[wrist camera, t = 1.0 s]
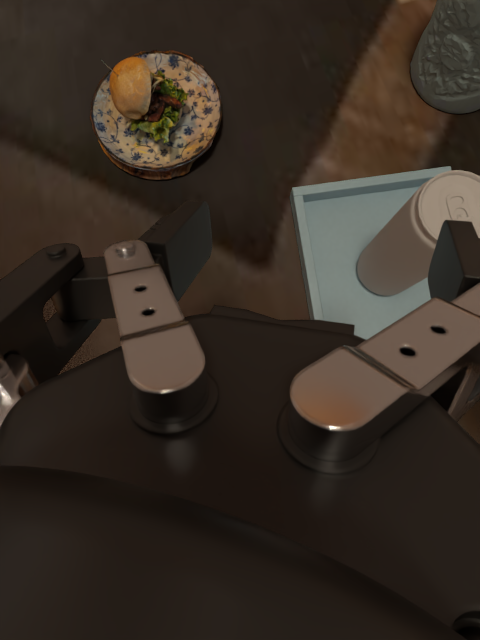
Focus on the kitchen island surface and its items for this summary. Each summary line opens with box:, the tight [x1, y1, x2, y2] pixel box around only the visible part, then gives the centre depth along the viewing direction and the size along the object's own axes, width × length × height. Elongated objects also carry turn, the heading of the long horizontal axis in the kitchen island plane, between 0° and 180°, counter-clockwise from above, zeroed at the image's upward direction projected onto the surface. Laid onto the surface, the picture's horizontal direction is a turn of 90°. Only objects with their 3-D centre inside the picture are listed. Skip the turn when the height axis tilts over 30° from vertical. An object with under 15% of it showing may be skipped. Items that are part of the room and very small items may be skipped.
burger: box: [90, 50, 222, 180], centre depth 32 cm, size 12×12×8 cm
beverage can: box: [357, 170, 480, 296], centre depth 27 cm, size 5×5×12 cm
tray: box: [290, 166, 451, 340], centre depth 32 cm, size 16×14×2 cm
